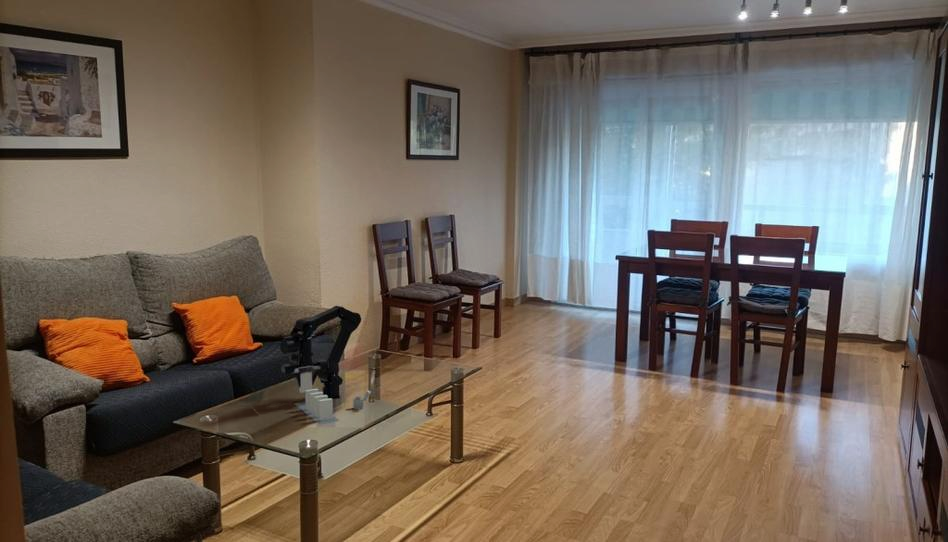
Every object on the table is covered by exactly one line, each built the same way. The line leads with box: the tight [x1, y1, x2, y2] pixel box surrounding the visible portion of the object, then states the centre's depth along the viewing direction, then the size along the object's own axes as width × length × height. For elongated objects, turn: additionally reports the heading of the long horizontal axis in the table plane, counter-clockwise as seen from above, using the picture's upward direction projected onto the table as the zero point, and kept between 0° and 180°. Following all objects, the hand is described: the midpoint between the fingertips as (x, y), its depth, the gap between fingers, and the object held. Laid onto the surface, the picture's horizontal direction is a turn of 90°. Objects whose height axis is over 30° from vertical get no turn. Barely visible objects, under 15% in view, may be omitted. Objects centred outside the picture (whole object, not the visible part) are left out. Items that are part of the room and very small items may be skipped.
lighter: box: [352, 389, 372, 410], centre depth 289 cm, size 7×2×8 cm, turn 82°
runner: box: [294, 401, 340, 425], centre depth 284 cm, size 30×8×1 cm, turn 33°
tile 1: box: [304, 388, 320, 410], centre depth 288 cm, size 2×5×8 cm, turn 122°
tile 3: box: [314, 395, 328, 417], centre depth 279 cm, size 2×5×8 cm, turn 123°
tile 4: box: [319, 398, 334, 421], centre depth 275 cm, size 2×5×8 cm, turn 122°
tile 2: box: [310, 391, 323, 414], centre depth 283 cm, size 2×5×8 cm, turn 123°
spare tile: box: [298, 371, 313, 394], centre depth 293 cm, size 2×5×8 cm, turn 122°
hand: (305, 386), depth 293 cm, fingers closed on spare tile, 5 cm apart
